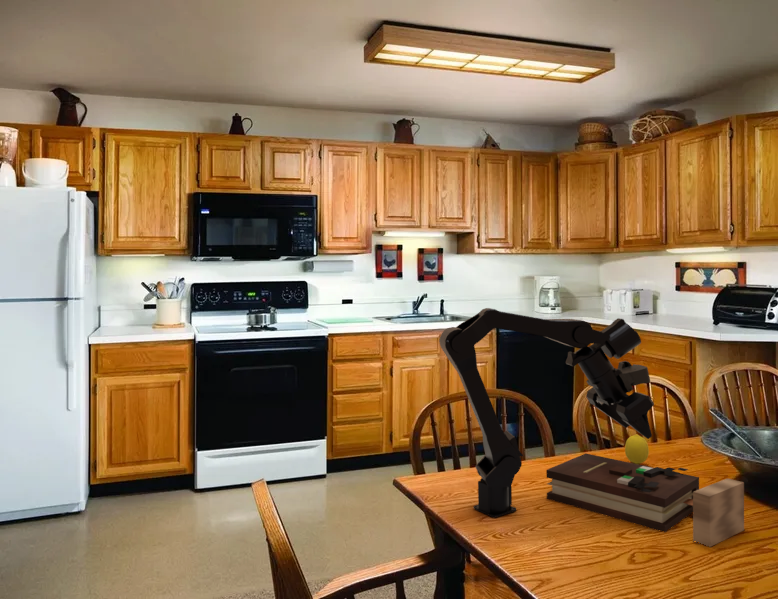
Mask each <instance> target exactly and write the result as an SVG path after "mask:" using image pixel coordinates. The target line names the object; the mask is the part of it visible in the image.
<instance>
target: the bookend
mask: <svg viewBox="0 0 778 599" xmlns="http://www.w3.org/2000/svg"><path fill="white" fill-rule="evenodd" d="M692 521H693V522H692V525H693V526H692V541H693V542H694V541H696V542H695V543H697V542H699V543H698V544H700V543H701V544H700V545H702V544H704V545H703V546H705V545H706V547H708V546H709V547H708V548H712V547H713V546H715V545H717V544H720V543H721V542H724V541H725V540H727V539H730V538H731V537H733V536H735V535H737V534H739V533H741V532H743V531H745V482H744V481H739V480H735V479H731V478H729V477H728V478H725V479H722V480H720V481H717V482H715V483H711V484H709V485H706V486H705V487H702V488H699V490H696V491H694V492H693V513H692Z"/></svg>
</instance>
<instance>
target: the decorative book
mask: <svg viewBox="0 0 778 599" xmlns="http://www.w3.org/2000/svg"><path fill="white" fill-rule="evenodd" d="M676 470H678V471H683V472H687V471H689V469H688V468H683V467H679V468H677V469H676V468H673V467H669V466H668V467H666V468H662V467H659V466H656V467H651V466H647V465H644V464H643V465H642V464H634V463H633V462H630V461H629V462H628V461H625V460H624V461H623V460H619V459H615V458H609V457H604V456H601V455H596V454H590V453H583V454H581V455H578V456H576V457H574V458H572V459H569V460H566V461H564V462H561V463H559V464H558V465H555V466H552V467H550V468H547V469H546V478H547V479H550V480H551V481H550V482H548V483H546V485H549V486H551V488H552V490H550V491H548V492H546V499H547V500H550V501H554V502H557V503H561V504H564V505H568V506H572V507H575V508H577V509H581V510H585V511H590V512H592V513H596V514H599V515H602V514H603V516H606V515H607V516H606V517H609V516H610V518H613V517H614V519H617V520H620V519H621V521H624V522H627V523H628V522H629V523H630V524H631V523H632V524H634V523H635V525H639V526H641V525H642V527H645V526H646V527H645V528H648V527H649V528H648V529H652V530H655V529H656V530H657V531H659V530H660V532H662V531H664V532H663V533H666V532H668V531H669V530H671V529H672V528H674V527H675V526H676V525H677V524H679V523H680V522H682V521H683V520H684V519H686V518H687V517H689V514H690V515H691V514H693V513H692V512H693V492H694V491H696V490H699V489H700V477H699V476H695V475H691V474H690V475H689V474H685V473H680V472H678V471H676ZM685 517H686V518H685ZM682 519H683V520H682ZM681 520H682V521H681ZM678 522H679V523H678ZM674 525H675V526H674ZM671 527H672V528H671ZM668 529H669V530H668ZM656 530H655V531H656ZM667 530H668V531H667Z"/></svg>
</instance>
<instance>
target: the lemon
mask: <svg viewBox="0 0 778 599" xmlns="http://www.w3.org/2000/svg"><path fill="white" fill-rule="evenodd" d="M649 451H650V450H649V445H648V443H647V440H646V438H645V437H644V436H642V435H639V434H637V433H635V434H634V435H631V436H630V437H628V438H627V439H626V441H625V446H624V452H625V456H626V458H627V459H628V460H629V462H630V463H634V464H639V465H641V464H643V463H645V462H646V461H647V460H648V457H649Z"/></svg>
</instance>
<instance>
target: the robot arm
mask: <svg viewBox="0 0 778 599" xmlns="http://www.w3.org/2000/svg"><path fill="white" fill-rule="evenodd" d="M494 329H499V330H504V331H509V332H510V331H511V332H514V333H515V332H516V333H521V334H527V335H532V336H539V337H543V338H546V339H549V340H551V341H554V342H557V343H559V344H562V345H564V346H568V347H572V348H575V349H578V350H575V351H574V352H572V351H568V352H567V358H566V360H565V364H566V365H569V366H571V367H575V366H577V365H578V366H579V367H580V369H581V371H582V373H583V374H584V375H585V377H586V379H587V380H586V383H587V385H588V386H590V387H592V388H590V389H588V390H587V392H586V398H587V400H588V402H589V404H591V405H593V406H594V407H595V408H596V409H597V410H599V411H601V412H602V413H603V414H605V415H606V416H608V417H610V418H611V419H612V420H614V421H615V422H616V423H618V424H619V425H621V426H623V428H625V429H627V428H629V427H631V428H632V429H634V430H635V431H636V432H638V433H639V434H640V435H641V436H642V437H643V438H645V439H648V440H649V439H651V438H652V437H653V435H652V434H653V433H652V430H651V426H650V422H649V418H648V417H649V416H648V413H649V411H651V409H652V408H653V407H654V405H655V403H654V401H653V400H652V398H651V397H650V395H647V394H644V393H641V392H637V391H634V392H632V391H633V390H634V386H637V385H642V384H648V383H650V382H651V379H650V373H649V369H648V367H647V365H646V366H645V365H642V364H631V362H630V361H628V360H623V361H618V366H617V368H616V367H614V365H613V364H612V362H611V361H610V360H609V358H610V359H611V358H613V357H614V358H615V359H616V360H617V359H621V358H622V357H624V356H625V355H626V354H628V353H630V352H631V351H632V350H634V349H635V348H637V347H638V346H639V345H641V344H642V339H641V337H640V335H639V333H638V332H637V330H635V329H634V328H633V327H632V326H631V325H629V324H628V323H627V322H626V321H625V320H624V318H619V317H618V318H616V319H615V320H613V321H612V323H611V324H609V325H608V326H606V327H605V328H603V329H602V330H596V329H593V327H592V326H591V324H590V323H589V322H588V321H585V320H580V319H574V318H539V317H534V316H528V315H522V314H517V313H511V312H506V311H501V310H497V309H495V308H490V307H486V308H483V309H481V310H480V311H479V312H478V313H476V314H475V315H473V316H471V317H470V318H467V319H466V320H464V321H463V322H461V323H459V324H458V325H457V326H455V327H454V326H451V327H447V328H446V329H444V330H443V331H442V332H441V334H440V337H439V346H440V348H441V349H442V351H443V354H444V355H445V357H447V359H448V361H449V362H450V363H451V365H452V367H453V368H454V369H455V371H456V372H457V374H458V377H459V378H460V382H461V383H462V387H463V388H464V392H465V394H466V396H467V399H468V401H469V403H470V406H471V408H472V411H473V414H474V416H475V419H476V420H477V422H478V425H479V428H480V431H481V434H482V445H483V449H484V453H485V454H484V456H483V457H482V458H481V459H480V461H479V462H477V463H476V464H475V469H476V472H477V475H478V476H479V477H480V478H481V479H480V480H478V481H477V493H478V494H477V497H478V498H477V500H478V504H475V505H473V506H472V507H473V509H474V510H476V511H478V512H479V513H482V514H484V515H487V516H488V517H491V518H494V519H495V518H499V517H501V516H504V515H508V514H511V513H513V512H516V511H517V507H514V506H512V505H513V504H512V503H513V501H512V500H513V499H512V498H513V496H512V495H513V493H512V490H513V489H512V488H513V487H512V485H513V482H514V480H515V475H517V474H518V473H519V472H520V470H521V467H522V464H523V463H522V458H521V457H524V454H523V453H522V452H521V451H520V449H519V445H518V441H517V439H516V437H515V435H513V434H512V433H510V432H509V431H508V430H505V431H504V430H503V429H502V426H501V423H500V421H499V419H498V416H497V413H496V412H495V409H494V406H493V404H492V401H491V398H490V396H489V394H488V392H487V388H486V387H485V386H486V385H485V384H484V382H483V379H482V377H481V374H480V372H479V368H478V362H477V353H476V348H475V346H476V344H478V343H479V342H480V341H481V340H484V338H485V337H486V336H487V335H488V334H489V333H490V332H491V331H492V330H494ZM630 392H632V393H630ZM627 393H630V395H629V394H627Z"/></svg>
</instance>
